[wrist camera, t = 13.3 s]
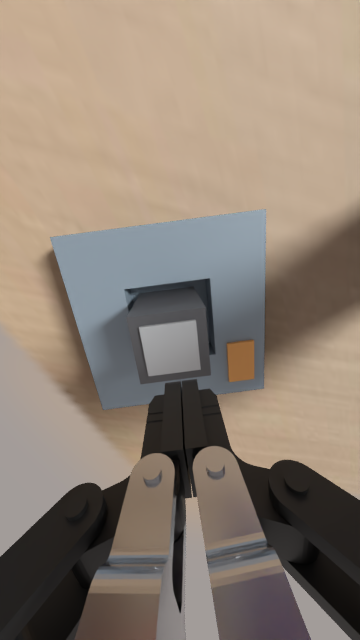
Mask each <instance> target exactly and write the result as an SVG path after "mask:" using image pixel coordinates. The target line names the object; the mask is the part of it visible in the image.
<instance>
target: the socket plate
mask: <svg viewBox="0 0 360 640" xmlns="http://www.w3.org/2000/svg"><path fill="white" fill-rule="evenodd" d="M50 239H51V242H52V246H53V249H54V252H55V255H56V259H57V262H58V265H59V268H60V272H61V275H62V278H63V281H64V285H65V288H66V291H67V294H68V298H69V301H70V304H71V307H72V311H73V314H74V317H75V320H76V324H77V327H78V330H79V333H80V336H81V340H82V343H83V346H84V349H85V353H86V356H87V359H88V362H89V366H90V369H91V372H92V375H93V379H94V382H95V385H96V388H97V392H98V395H99V398H100V401H101V405H102V408H103V410H107V409H114V408H122V407H129V406H136V405H144V404H150V402H151V401H152V399H153V398H154V396H156V395H164V391H165V383H169V382H176V381H181V386H182V381H184V380H191V379H197V383H198V389H199V390H202V389H209V388H210V389H211V390H212V391H213V393H214V394H215V395H218V394H226V393H233V392H241V391H248V390H256V389H263V388H264V339H265V256H266V209H263V210H255V211H247V212H240V213H232V214H224V215H217V216H209V217H201V218H194V219H186V220H179V221H171V222H163V223H156V224H148V225H140V226H133V227H125V228H117V229H110V230H102V231H94V232H87V233H79V234H71V235H64V236H56V237H50ZM193 286H194V288H195V290H196V292H197V293H198V295H199V297H200V299H201V300H202V302H203V304H204V306H205V307H206V318H207V331H208V343H209V356H210V368H211V375H210V376H202V377H194V378H186V379H179V380H171V381H163V382H155V383H148V384H140V380H139V375H138V370H137V366H136V361H135V356H134V352H133V347H132V343H131V338H130V333H129V329H128V324H127V319H126V317H127V315H128V314H129V312H130V310H131V308H132V307H133V305H134V303H135V301H136V300H137V298H138V296H139V294H140V293H145V292H153V291H161V290H169V289H177V288H185V287H193Z"/></svg>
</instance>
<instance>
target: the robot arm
mask: <svg viewBox="0 0 360 640" xmlns="http://www.w3.org/2000/svg"><path fill="white" fill-rule="evenodd" d="M190 479H191V480H190ZM191 484H192V491H193V497H197V499H198V506H199V512H200V519H201V525H202V531H203V538H204V544H205V550H206V557H207V563H208V569H209V576H210V583H211V589H212V595H213V602H214V608H215V614H216V621H217V627H218V634H219V640H311V638H310V636H309V633H308V631H307V628H306V626H305V623H304V621H303V618H302V615H301V613H300V610H299V608H298V605H297V603H296V600H295V597H294V595H293V592H292V590H291V587H290V585H289V582H288V579H287V577H286V574H285V572H284V569H283V567H284V568H285V570H286V571H287V572H288V573H289V574H290V575H291V576H292V577H293V578H294V579H295V580H296V581H297V582H298V583H299V584H300V585H301V587H302V588H303V589H304V590H305V591H306V592H307V593H308V594H309V595H310V596H311V597H312V598H313V599H314V600H315V601H316V602H317V603H318V604H319V605H320V607H321V608H322V609H323V610H324V611H325V612H326V613H327V614H328V615H329V616H330V617H331V618H332V619H333V620H334V621H335V622H336V623H337V625H339V627H340V628H341V629H342V630H343V631H344V632H345V633H346V634H347V635H348V636H349V637H350V638H351V639H352V640H360V500H358V499H357V498H355V497H354V496H352V495H351V494H349V493H348V492H346V491H344V490H343V489H341V488H340V487H338V486H337V485H335V484H334V483H332V482H331V481H329V480H327V479H326V478H324V477H323V476H321V475H320V474H318V473H317V472H315V471H314V470H312V469H310V468H309V467H307V466H306V465H304V464H302V463H299V462H297V461H293V460H281V461H278V462H276V463H275V464H274V465H273V466H272V467H271V469H267V468H262V467H257V466H253V465H250V464H247V463H245V462H244V461H242V460H241V459H239V458H238V457H237V456H236V455H235V454H234V452H233V451H232V449H231V446H230V443H229V440H228V436H227V432H226V429H225V425H224V422H223V418H222V414H221V411H220V407H219V403H218V400H217V396H216V395H215V394H214V393H213V391H212V390H211V389H210V388H209V389H202V390H199V389H198V383H197V379H191V380H184V381H182V386H181V381H176V382H169V383H165V391H164V395H156V396H154V398H153V399H152V401H151V402H150V404H149V409H148V416H147V424H146V429H145V435H144V442H143V448H142V455H141V459H140V460H139V461H138V462H137V464H136V465H135V466H134V468H133V470H132V472H131V475H130V476H129V477H128V478H126V479H125V480H123V481H121V482H120V483H117V484H115V485H113V486H111V487H109V488H107V489H105V490H101V488H100V487H99V486H98V485H96V484H94V483H85V484H81V485H78V486H76V487H75V488H73V489H72V490H70V491H69V492H68V493H66V494H65V495H64V496H63V497H62V498H61V499H60V500H59V501H58V502H57V503H56V504H55V505H54V506H53V507H52V508H51V509H50V510H49V511H48V512H47V513H46V514H45V515H43V517H42V518H40V519H39V520H38V521H37V522H36V523H35V524H34V525H33V526H32V527H31V528H30V529H29V530H28V531H27V532H26V533H25V534H24V535H23V536H22V537H21V538H20V539H19V540H18V541H16V542H15V543H14V544H13V545H12V546H11V547H10V548H9V549H8V550H7V551H6V552H5V553H4V554H3V555H2V556H1V557H0V640H186V633H185V612H184V611H185V558H186V557H185V556H186V555H185V554H186V552H185V551H186V506H185V498H191V497H192V494H191ZM282 566H283V567H282Z"/></svg>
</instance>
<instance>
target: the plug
mask: <svg viewBox="0 0 360 640" xmlns="http://www.w3.org/2000/svg"><path fill="white" fill-rule="evenodd" d="M126 319H127V324H128V329H129V333H130V338H131V343H132V347H133V352H134V356H135V361H136V366H137V370H138V375H139V380H140V384H148V383H155V382H163V381H171V380H179V379H186V378H194V377H202V376H210V375H211V368H210V356H209V343H208V331H207V318H206V307H205V306H204V304H203V302H202V300H201V299H200V297H199V295H198V293H197V292H196V290H195V288H194V286H193V287H185V288H177V289H169V290H161V291H153V292H145V293H140V294H139V296H138V298H137V300H136V301H135V303H134V305H133V307H132V308H131V310H130V312H129V314H128V315H127V317H126Z"/></svg>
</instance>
